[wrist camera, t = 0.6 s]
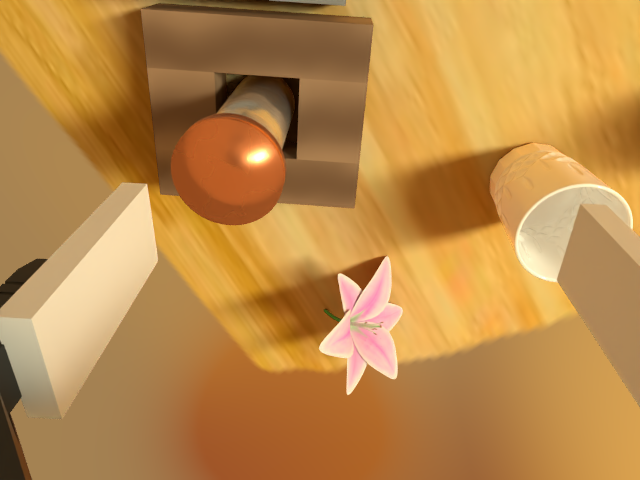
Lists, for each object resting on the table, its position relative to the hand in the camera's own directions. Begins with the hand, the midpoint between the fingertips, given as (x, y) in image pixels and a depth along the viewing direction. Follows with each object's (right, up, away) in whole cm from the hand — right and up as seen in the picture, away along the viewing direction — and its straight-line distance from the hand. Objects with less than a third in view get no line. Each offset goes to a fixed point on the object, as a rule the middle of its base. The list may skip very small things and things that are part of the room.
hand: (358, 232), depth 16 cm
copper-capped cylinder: (-6, +11, +26) cm, 29 cm away
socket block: (-6, +11, +26) cm, 29 cm away
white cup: (+17, +5, +29) cm, 34 cm away
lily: (+3, -6, +36) cm, 36 cm away
